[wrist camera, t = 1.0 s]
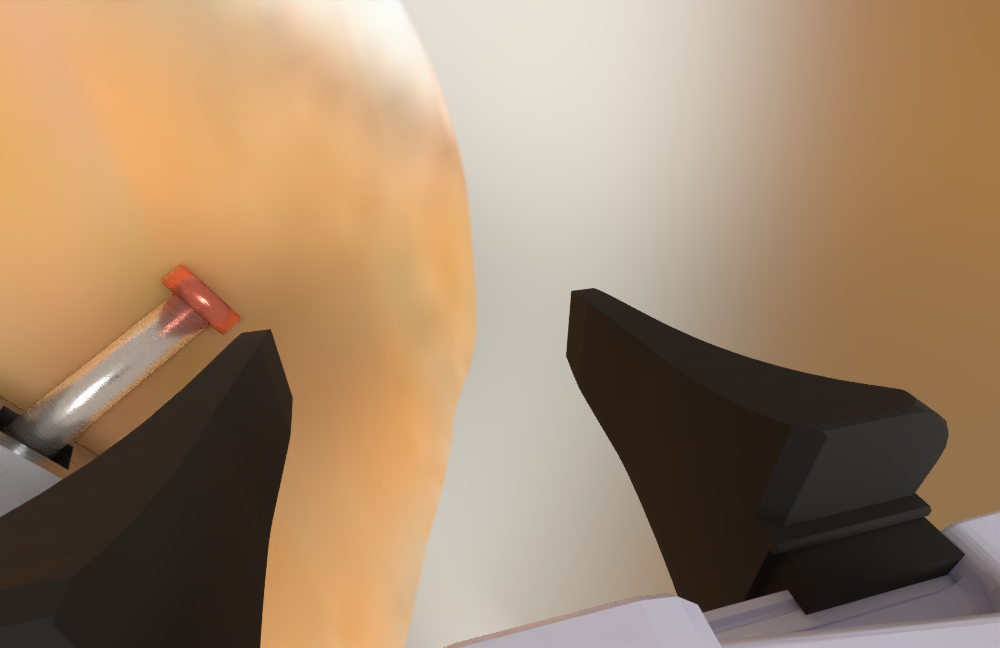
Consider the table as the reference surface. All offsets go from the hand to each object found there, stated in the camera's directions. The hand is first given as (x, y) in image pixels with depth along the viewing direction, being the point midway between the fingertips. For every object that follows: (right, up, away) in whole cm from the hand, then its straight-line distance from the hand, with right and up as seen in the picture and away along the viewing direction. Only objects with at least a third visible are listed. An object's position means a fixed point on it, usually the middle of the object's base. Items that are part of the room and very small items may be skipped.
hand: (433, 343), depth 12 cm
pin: (-15, -2, +8) cm, 17 cm away
